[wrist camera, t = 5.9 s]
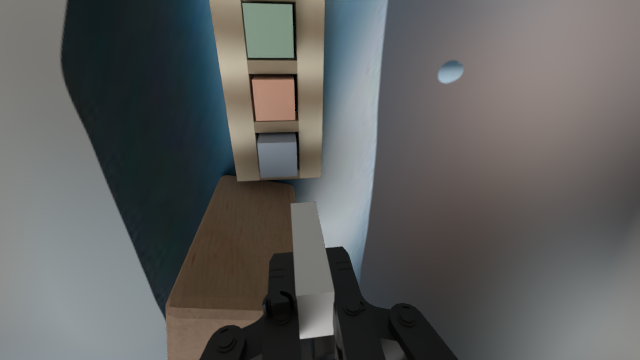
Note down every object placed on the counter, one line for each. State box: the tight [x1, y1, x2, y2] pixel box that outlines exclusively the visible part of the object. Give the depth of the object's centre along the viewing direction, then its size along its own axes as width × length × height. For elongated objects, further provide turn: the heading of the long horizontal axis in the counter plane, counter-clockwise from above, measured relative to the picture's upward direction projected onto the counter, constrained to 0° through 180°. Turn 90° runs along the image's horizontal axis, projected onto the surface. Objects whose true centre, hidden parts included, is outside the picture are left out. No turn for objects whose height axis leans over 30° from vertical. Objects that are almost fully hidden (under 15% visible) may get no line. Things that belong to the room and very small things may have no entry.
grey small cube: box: [257, 132, 297, 178], centre depth 30 cm, size 4×4×4 cm
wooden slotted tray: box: [209, 0, 325, 181], centre depth 29 cm, size 19×10×4 cm, turn 179°
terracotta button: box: [252, 74, 295, 121], centre depth 28 cm, size 4×4×4 cm
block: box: [166, 175, 296, 360], centre depth 29 cm, size 10×10×20 cm
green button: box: [242, 3, 294, 58], centre depth 24 cm, size 4×4×4 cm
